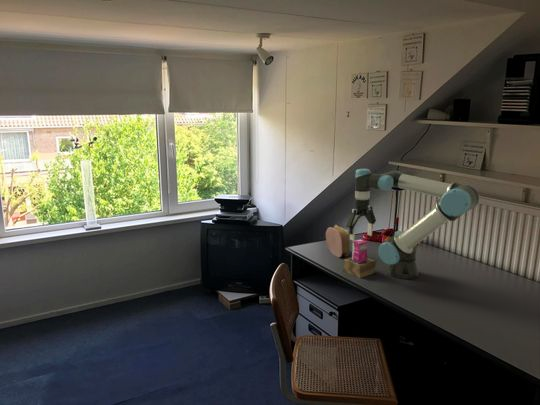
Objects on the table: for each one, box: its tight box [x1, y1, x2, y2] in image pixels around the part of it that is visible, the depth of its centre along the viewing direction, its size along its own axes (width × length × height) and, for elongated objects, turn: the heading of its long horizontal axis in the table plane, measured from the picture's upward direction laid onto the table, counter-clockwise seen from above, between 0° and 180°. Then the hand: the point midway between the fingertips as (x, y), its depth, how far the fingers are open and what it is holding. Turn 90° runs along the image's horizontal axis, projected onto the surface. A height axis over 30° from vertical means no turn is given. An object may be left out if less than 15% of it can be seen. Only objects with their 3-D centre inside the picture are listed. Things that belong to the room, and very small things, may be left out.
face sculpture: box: [325, 224, 351, 259], centre depth 266 cm, size 20×7×17 cm, turn 25°
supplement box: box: [351, 239, 368, 264], centre depth 237 cm, size 6×6×12 cm
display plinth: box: [343, 256, 377, 279], centre depth 239 cm, size 12×12×7 cm
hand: (361, 237), depth 235 cm, fingers open, 13 cm apart
